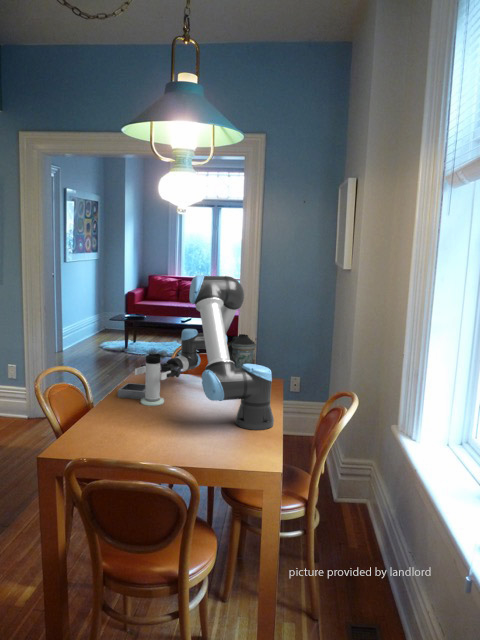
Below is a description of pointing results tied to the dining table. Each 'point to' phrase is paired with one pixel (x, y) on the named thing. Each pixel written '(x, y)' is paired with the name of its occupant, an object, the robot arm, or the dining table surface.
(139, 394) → the square frame
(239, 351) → the beer stein
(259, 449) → the dining table surface
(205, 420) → the dining table surface
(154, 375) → the travel mug
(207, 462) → the dining table surface
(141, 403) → the disc
